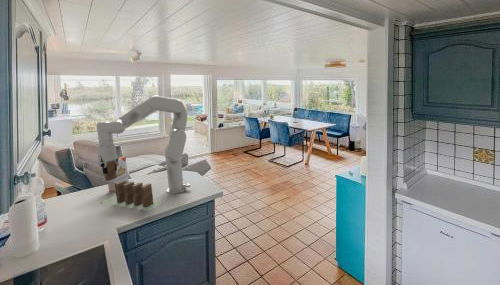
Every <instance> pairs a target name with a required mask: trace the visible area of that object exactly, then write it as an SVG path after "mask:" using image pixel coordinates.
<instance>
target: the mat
mask: <svg viewBox="0 0 500 285" xmlns="http://www.w3.org/2000/svg"><path fill="white" fill-rule="evenodd" d="M163 203H164V201H159V200H153V204H151V205H150V206H148V207H143V204H140V205H138V206H134V202H133V203H131V204H129V205H128V204H125V201H124V202H122V203H117V197H116V194H115V195H113V196H111V197H109V198H106V199H105V200H102V201H99V204H104V205H105V204H106V205H110V206H111V205H112V206H117V207H124V208H130V209H135V210H142V211H147V212H148V211H152V210H153V209H155V208H156V207H158V206H160V205H161V204H163Z"/></svg>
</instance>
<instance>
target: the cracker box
mask: <svg viewBox="0 0 500 285" xmlns="http://www.w3.org/2000/svg"><path fill="white" fill-rule="evenodd" d="M126 158H127V157H126V156H120V158H119V159H118V162H117V164H116V166H117V171H116V176H117V178H115V179H112V180H110V181H107V185H108V191H109V193H110V192H111V193H112V192H115V193H116V190H115V183H118V182H120V181H126V183H128V182H129V175H128V167H127V159H126Z"/></svg>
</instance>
